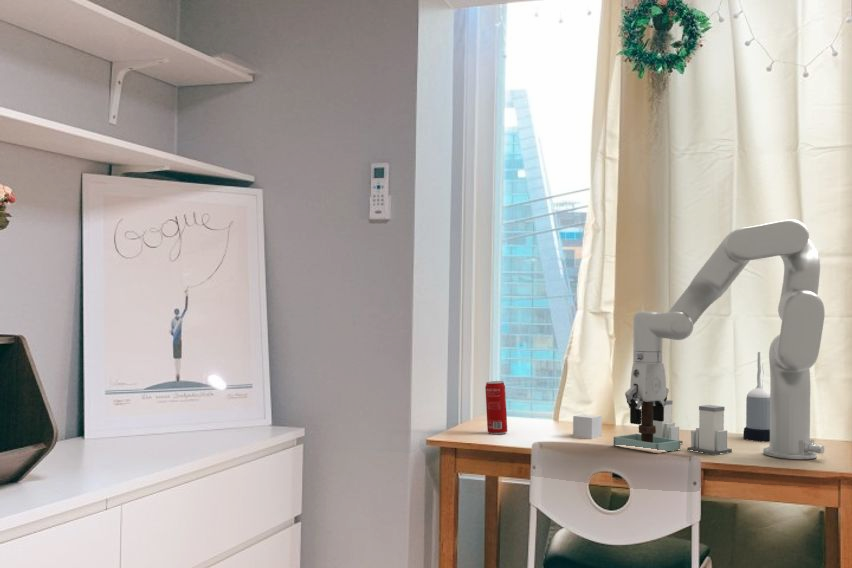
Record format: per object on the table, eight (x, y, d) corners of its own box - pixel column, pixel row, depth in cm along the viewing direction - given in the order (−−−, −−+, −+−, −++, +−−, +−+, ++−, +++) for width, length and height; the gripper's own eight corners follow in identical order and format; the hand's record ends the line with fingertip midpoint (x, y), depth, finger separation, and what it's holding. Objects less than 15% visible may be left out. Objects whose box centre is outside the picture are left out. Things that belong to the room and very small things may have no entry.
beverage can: (510, 434, 252) (511, 382, 252) (490, 435, 250) (491, 382, 250) (501, 431, 257) (502, 380, 258) (481, 432, 255) (482, 380, 255)
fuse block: (731, 452, 228) (732, 406, 228) (714, 455, 223) (714, 408, 223) (658, 439, 246) (658, 398, 246) (640, 442, 241) (640, 399, 241)
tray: (680, 450, 230) (680, 440, 230) (657, 454, 223) (657, 444, 223) (636, 442, 240) (636, 433, 240) (613, 446, 234) (613, 436, 234)
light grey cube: (601, 436, 251) (602, 415, 251) (591, 439, 246) (592, 418, 246) (583, 434, 254) (583, 413, 254) (572, 436, 250) (573, 415, 250)
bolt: (657, 448, 228) (657, 390, 229) (637, 447, 229) (637, 390, 230) (656, 444, 234) (656, 388, 234) (637, 444, 235) (637, 388, 235)
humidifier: (760, 436, 255) (761, 350, 256) (780, 441, 247) (781, 352, 248) (737, 437, 253) (738, 351, 253) (756, 442, 245) (757, 352, 245)
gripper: (639, 360, 224) (638, 426, 224) (679, 357, 235) (678, 421, 234) (615, 358, 230) (615, 423, 229) (655, 356, 240) (655, 418, 240)
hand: (647, 422), depth 232 cm, fingers open, 9 cm apart
